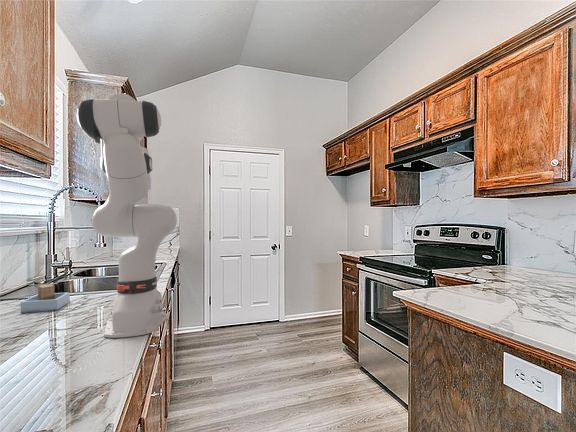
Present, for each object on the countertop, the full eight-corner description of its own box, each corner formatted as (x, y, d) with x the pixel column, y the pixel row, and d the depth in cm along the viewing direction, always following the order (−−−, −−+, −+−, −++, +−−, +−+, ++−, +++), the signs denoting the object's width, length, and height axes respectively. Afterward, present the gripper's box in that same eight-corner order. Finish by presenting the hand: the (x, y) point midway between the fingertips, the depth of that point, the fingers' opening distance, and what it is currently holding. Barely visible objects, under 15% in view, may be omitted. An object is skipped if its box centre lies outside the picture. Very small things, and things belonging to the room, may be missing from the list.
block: (54, 304, 127) (54, 285, 127) (42, 307, 124) (42, 287, 124) (50, 303, 130) (50, 284, 130) (38, 305, 127) (37, 286, 127)
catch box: (57, 310, 123) (56, 299, 123) (20, 313, 120) (20, 302, 120) (69, 302, 134) (69, 292, 134) (36, 304, 131) (36, 294, 131)
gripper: (136, 186, 151) (137, 216, 152) (126, 183, 132) (127, 217, 132) (151, 186, 153) (152, 216, 153) (143, 183, 133) (143, 217, 133)
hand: (140, 217), depth 142 cm, fingers open, 8 cm apart
